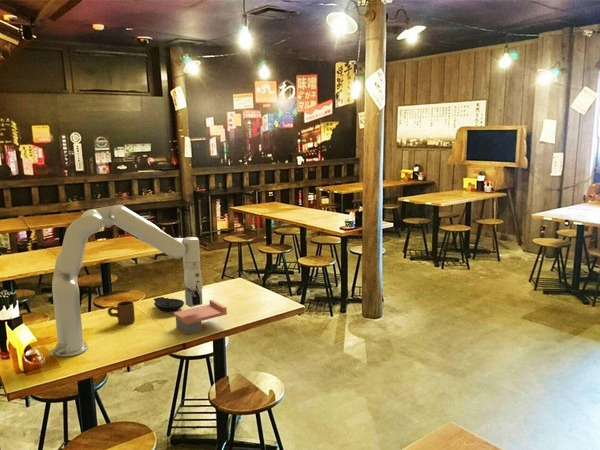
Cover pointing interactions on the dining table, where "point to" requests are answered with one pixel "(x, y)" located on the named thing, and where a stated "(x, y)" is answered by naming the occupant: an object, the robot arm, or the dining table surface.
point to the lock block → (191, 297)
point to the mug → (123, 312)
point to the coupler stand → (198, 316)
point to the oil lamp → (168, 304)
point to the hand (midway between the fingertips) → (193, 302)
